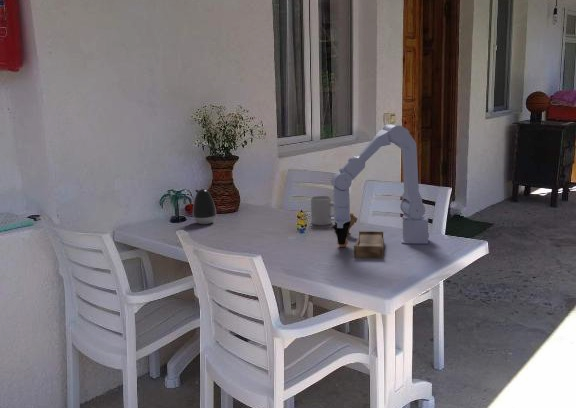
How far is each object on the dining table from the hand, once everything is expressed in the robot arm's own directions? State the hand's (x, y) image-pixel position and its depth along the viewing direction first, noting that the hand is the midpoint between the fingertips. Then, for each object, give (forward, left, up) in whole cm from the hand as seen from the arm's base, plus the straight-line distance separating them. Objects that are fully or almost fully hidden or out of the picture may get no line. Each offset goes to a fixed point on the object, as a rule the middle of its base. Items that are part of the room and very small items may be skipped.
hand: (342, 242), depth 215 cm
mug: (+11, -35, -2) cm, 37 cm away
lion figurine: (+1, -19, -2) cm, 19 cm away
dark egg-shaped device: (+64, -34, -2) cm, 72 cm away
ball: (0, 0, 0) cm, 0 cm away
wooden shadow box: (-10, +3, -2) cm, 11 cm away
